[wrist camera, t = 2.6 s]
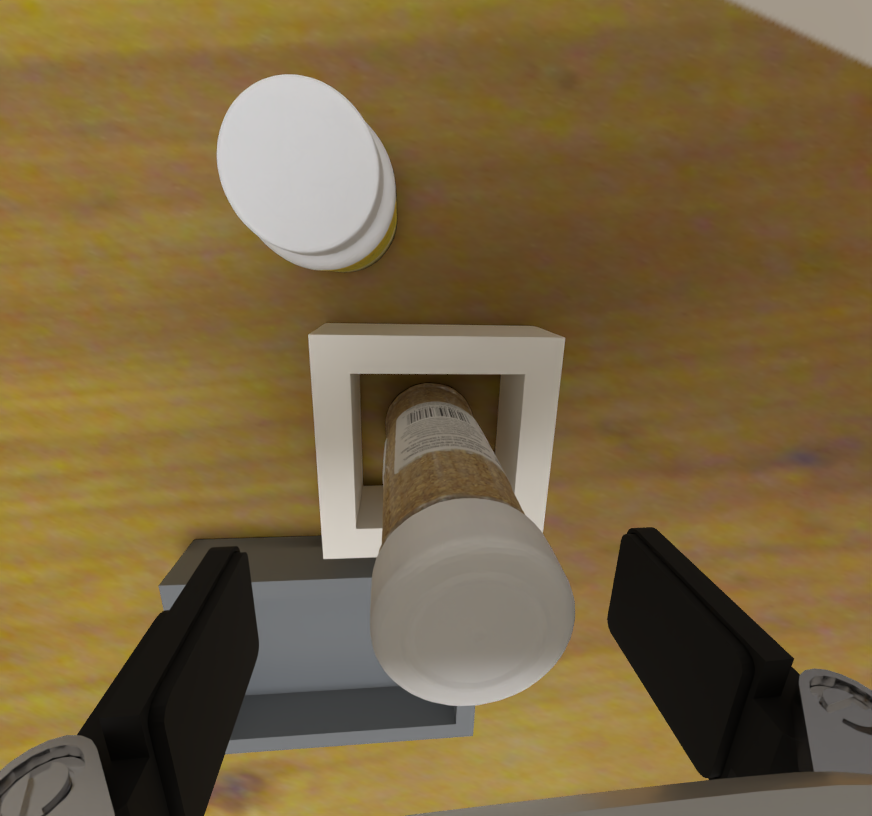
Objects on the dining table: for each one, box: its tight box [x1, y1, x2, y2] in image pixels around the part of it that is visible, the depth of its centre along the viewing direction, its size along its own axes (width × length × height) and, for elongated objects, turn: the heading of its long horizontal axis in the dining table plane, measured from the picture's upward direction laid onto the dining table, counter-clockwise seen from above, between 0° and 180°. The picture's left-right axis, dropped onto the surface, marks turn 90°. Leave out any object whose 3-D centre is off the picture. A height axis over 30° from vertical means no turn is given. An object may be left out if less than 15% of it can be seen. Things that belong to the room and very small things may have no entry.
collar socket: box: [308, 323, 565, 559], centre depth 20 cm, size 10×10×4 cm
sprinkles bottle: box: [370, 383, 575, 706], centre depth 15 cm, size 5×5×14 cm
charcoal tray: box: [159, 536, 475, 754], centre depth 23 cm, size 15×11×4 cm
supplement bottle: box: [217, 74, 397, 272], centre depth 14 cm, size 5×5×8 cm
